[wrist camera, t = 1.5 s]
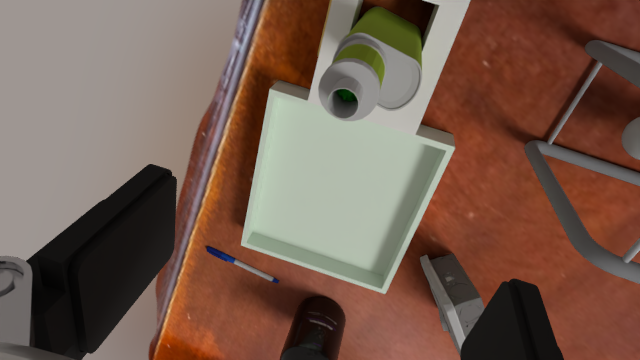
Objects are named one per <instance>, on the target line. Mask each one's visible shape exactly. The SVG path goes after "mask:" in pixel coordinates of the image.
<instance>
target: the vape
mask: <svg viewBox="0 0 640 360" xmlns="http://www.w3.org/2000/svg"><path fill="white" fill-rule="evenodd" d="M421 82H422V43H421V32H420V29H419V28H418V27H417V26H416V25H414V24H412V23H410V22H409V21H407V20H405V19H403V18H401V17H399V16H397V15H396V14H394V13H392V12H390V11H388V10H386V9H384V8H382V7H374V8H371V9H370V10H368V11H367V12H366V13H365V14H364V15H363V16H362V18H361V19H360V20H359V21H358V23H357V24H356V25H355V26H354V28H353V29H352V30H351V31H350V33H349V34H347V35H345V36H344V37H343V38H342V40H341V41H340V43H339V45H338V48H337V50H336V52H335V54H334V57H333V61H332V64H331V65H330V66H329V67H328V68H327V70H326V71H325V73H324V74H323V76H322V77H321V79H320V83H319V86H318V91H319V99H320V101H321V104H322V106H323V107H324V108H325V110H326V111H327V112H328V113H329V114H330V115H332V116H333V117H335V118H337V119H340V120H343V121H356V120H360V119H363V118H364V117H366V116H367V115H369V114H370V113H371V112H372V111H373V109H374V108H375V107H376V105H377V106H379V107H381V108H383V109H385V110H387V111H396V110H400V109H402V108H404V107H405V106H407V105H408V104H409V103H410V102H411V101H412V100H413V99H414V97H415V96H416V95H417V93H418V91H419V89H420V86H421Z"/></svg>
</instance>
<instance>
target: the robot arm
mask: <svg viewBox="0 0 640 360" xmlns="http://www.w3.org/2000/svg"><path fill="white" fill-rule="evenodd" d="M176 186H177V179H176V177H174V176H172V172H171V171H170V170H169V169H166V168H163V167H160V166H156V165H153V164H149V165H147V166H146V167H145V168H144V169H142V170H141V171H140V172H139V173H137V174H136V175H135V176H134V177H133V178H131V179H130V180H129V181H127V182H126V183H125V184H124V185H123V186H121V187H120V188H119V189H118V190H116V191H115V192H114V193H113V194H111V195H110V196H109V197H108V198H106V199H105V200H102V201H101V202H99V203H98V204H97V205H95V206H94V207H93V208H92V209H90V210H89V211H88V212H86V213H85V214H84V215H83V216H81V217H80V218H79V219H78V220H77V221H76V222H74V223H73V224H72V225H70V226H69V227H68V228H67V229H66V230H64V231H63V232H62V233H60V234H59V235H58V236H57V237H55V238H54V239H53V240H52V241H50V242H49V243H48V244H47V245H45V246H44V247H43V248H42V249H40V250H39V251H38V252H37V253H35V254H34V255H33V256H32V257H31V258H29V259H28V260H27V261H24V260H22V259H20V258H18V257H11V256H0V360H82V358H83V357H84V356H85V355H86V354H87V353H90V354H91V353H93V352H95V351H96V350H97V349H98V348H99V346H100V345H101V344H102V343H103V341H104V340H105V339H106V338H107V336H108V335H109V334H110V333H111V331H112V330H113V329H114V328H115V326H116V325H117V324H118V323H119V321H120V320H121V319H122V318H123V316H124V315H125V314H126V312H127V311H128V310H129V309H130V307H131V306H132V305H133V304H134V303H135V301H136V300H137V299H138V298H139V296H140V295H141V294H142V293H143V291H144V290H145V289H146V288H147V286H148V285H149V284H150V283H151V281H152V280H153V279H154V278H155V276H156V275H157V274H158V273H159V271H160V270H161V269H162V268H163V266H164V265H165V264H166V263H167V261H168V260H169V259H170V257H171V255H172V253H173V250H174V241H175V215H176V188H177V187H176ZM460 357H461V360H564V358H563V355H562V353H561V351H560V349H559V347H558V346H557V343H556V340H555V337H554V334H553V331H552V328H551V325H550V322H549V319H548V316H547V313H546V310H545V307H544V304H543V301H542V298H541V295H540V292H539V289H538V287H537V286H536V285H534V284H531V283H527V282H524V281H521V280H518V279H511V280H510V281H509V282H506V281H504V282H502V284H501V285H500V286H499V288H498V290H497V291H496V293H495V294H494V296H493V297H492V299H491V300H490V302H489V303H488V305H487V306H486V308H485V309H484V311H483V312H482V314H481V316H480V317H479V319H478V320H477V322H476V323H475V325H474V326H473V328H472V329H471V331H470V332H469V334H468V335H467V337H466V338H465V340H464V342H463V344H462V347H461V352H460Z"/></svg>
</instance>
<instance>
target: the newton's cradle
mask: <svg viewBox="0 0 640 360" xmlns="http://www.w3.org/2000/svg"><path fill="white" fill-rule="evenodd" d="M585 51H586V53H587V54H588V55H590V56H591V57H593V58H594V59H596V60H597V61H598V63H597V64H596V66H595V67H594V69H593V70H592V72H591V74H590V75H589V77H588V78H587V80H586V82H585V83H584V85H583V86H582V88H581V89H580V91H579V93H578V94H577V96H576V97H575V99H574V100H573V102H572V104H571V105H570V107H569V108H568V110H567V111H566V113H565V115H564V116H563V118H562V119H561V121H560V122H559V124H558V126H557V127H556V129H555V130H554V132H553V133H552V135H551V137H550V138H549V140H548V141H547V142H544V141H539V140H533V141H529V142H528V143H527V144H526V145H525V147H524V149H525V153H526V155H527V157H528V159H529V161H530V163H531V165H532V167H533V169H534V171H535V173H536V175H537V177H538V179H539V181H540V183H541V185H542V187H543V189H544V191H545V193H546V194H547V196H548V198H549V200H550V202H551V204H552V206H553V208H554V210H555V212H556V214H557V216H558V218H559V220H560V222H561V224H562V226H563V228H564V230H565V232H566V234H567V236H568V238H569V240H570V242H571V243H572V245H573V246H574V248H575V249H576V250H577V251H578V252H579V253H580V254H581V255H582V256H583V257H584V258H586V259H587V260H588V261H590V262H591V263H592V264H594V265H595V266H597V267H599V268H601V269H602V270H604V271H606V272H609V273H611V274H613V275H616V276H619V277H622V278H624V279H627V280H630V281H633V282H636V283H639V284H640V264H639V263H636V262H633V261H630V260H631V259H632V258H633V257H634V256H635V255H636V254H637V253H638V252H639V250H640V238H639V239H638V240H637V241H636V243H635V244H634V245H633V246H632V247H631V248H630V249H629V250H628V251H627V253H626V254H625V255H624V256H623V257H619V256H617V255H615V254H613V253H611V252H609V251H607V250H606V249H604V248H603V247H601V246H600V245H599V244H597V243H596V242H595V241H594V240H593V239H592V238H591V236H590V235H589V234H588V232H587V230H586V228H585V227H584V225H583V223H582V222H581V220H580V218H579V216H578V215H577V213H576V211H575V210H574V208H573V206H572V205H571V203H570V201H569V199H568V198H567V196H566V194H565V193H564V191H563V189H562V187H561V186H560V184H559V182H558V181H557V179H556V177H555V175H554V174H553V172H552V170H551V169H550V167H549V165H548V163H547V162H546V160H545V158H544V157H543V155H542V154H545V155H548V156H551V157H554V158H557V159H560V160H563V161H566V162H569V163H572V164H575V165H578V166H581V167H584V168H587V169H590V170H593V171H596V172H599V173H602V174H605V175H608V176H611V177H614V178H617V179H620V180H623V181H626V182H629V183H632V184H635V185H638V186H640V173H638V172H635V171H632V170H629V169H626V168H623V167H620V166H617V165H614V164H611V163H608V162H605V161H602V160H599V159H596V158H593V157H590V156H587V155H584V154H581V153H578V152H575V151H572V150H569V149H566V148H563V147H560V146H557V145H554V144H552V142H553V140H554V139H555V137H556V136H557V134H558V133H559V131H560V130H561V128H562V126H563V125H564V123H565V122H566V120H567V119H568V117H569V116H570V114H571V113H572V111H573V109H574V108H575V106H576V105H577V103H578V102H579V100H580V99H581V97H582V95H583V94H584V92H585V91H586V89H587V88H588V86H589V85H590V83H591V81H592V80H593V78H594V77H595V75H596V74H597V72H598V71H599V69H600V67H601V66H602V64H603V65H605V66H607V67H608V68H610V69H611V70H613V71H614V72H616V73H617V74H619V75H620V76H622V77H623V78H625V79H627V80H628V81H630V82H631V83H633V84H634V85H636V86H637V87H639V88H640V53H639V52H636V51H633V50H629V49H626V48H623V47H620V46H617V45H614V44H610V43H607V42H604V41H600V40H592V41H590V42H588V43H587V44H586V46H585ZM622 145H623V147H624V149H625V151H626V152H627V153H628V154H629V155H631V156H632V157H634V158H636V159H638V160H640V117H638V118H636V119H634V120H632V121H631V122H630V123H629V124H628V125H627V126H626V127H625V129H624V131H623V133H622Z"/></svg>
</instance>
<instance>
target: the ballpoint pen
mask: <svg viewBox="0 0 640 360" xmlns="http://www.w3.org/2000/svg"><path fill="white" fill-rule="evenodd" d="M207 252H209V253H210V254H212V255H214V256H216V257H218V258H220V259H222V260H224V261H226V262H227V261H229V262H232V263H234V264H236V265H238V266H240V267H242V268H244V269H246V270H249V271H251V272H253V273H255V274H257V275H259V276H261V277H263V278H265V279H267V280H269V281H271V282H275V283H278V282H279V281H278V280H277V279H275V278H274V277H272V276H270V275H268V274H266V273H264V272H262V271H259V270H257V269H255V268H253V267H251V266H249V265H247V264H245V263H243V262H241V261H239V260H237V259H235V258H233V257H231V256H229V255H227V254H225V253H223V252H221V251H219V250H217V249H215V248H212V247H210V246H208V247H207Z"/></svg>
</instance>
